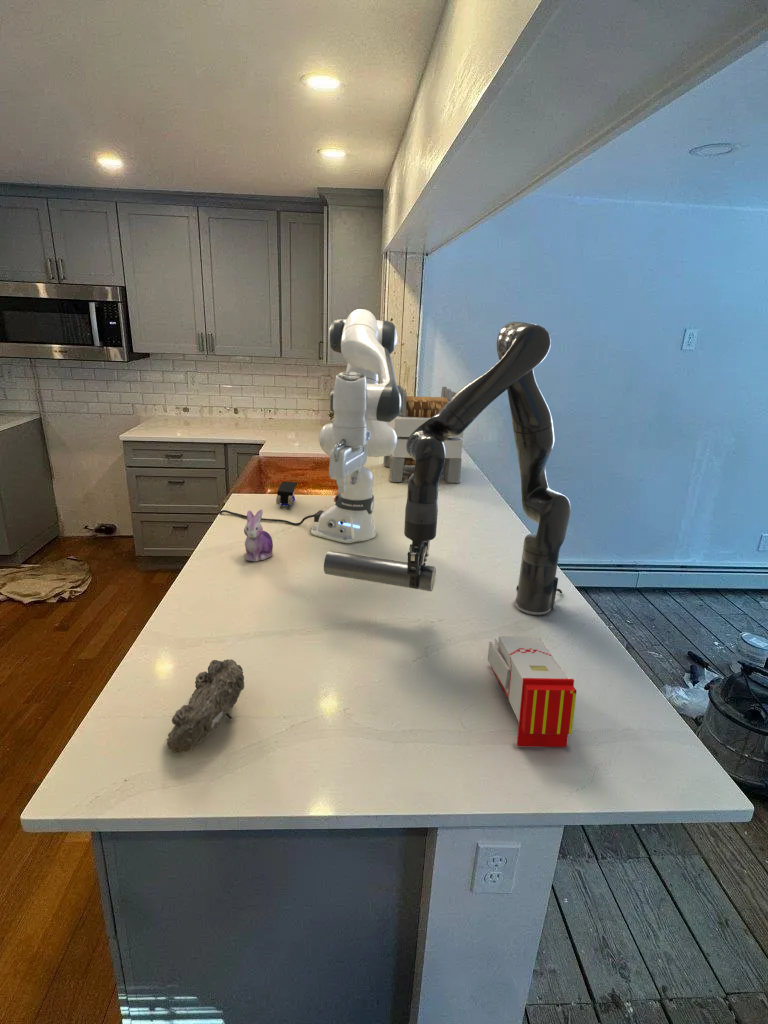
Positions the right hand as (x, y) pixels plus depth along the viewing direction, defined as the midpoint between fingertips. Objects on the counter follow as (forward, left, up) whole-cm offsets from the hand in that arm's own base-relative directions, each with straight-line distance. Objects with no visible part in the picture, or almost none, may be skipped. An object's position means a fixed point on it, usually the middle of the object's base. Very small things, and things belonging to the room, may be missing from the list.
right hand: (417, 581), depth 138 cm
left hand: (+11, -25, +17) cm, 32 cm away
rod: (+8, -6, -2) cm, 10 cm away
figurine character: (+13, -98, -12) cm, 100 cm away
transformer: (-57, -129, -12) cm, 142 cm away
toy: (-10, +33, -12) cm, 37 cm away
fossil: (+50, +20, -12) cm, 55 cm away
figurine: (+31, -52, -12) cm, 61 cm away
